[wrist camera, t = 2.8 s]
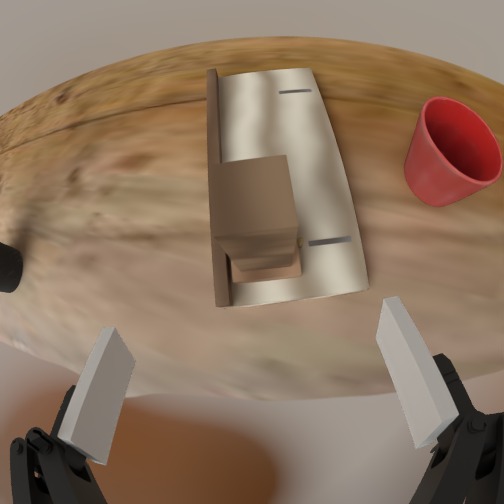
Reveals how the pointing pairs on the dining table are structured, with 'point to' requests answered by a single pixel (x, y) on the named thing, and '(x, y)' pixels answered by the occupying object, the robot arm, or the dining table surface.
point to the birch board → (302, 178)
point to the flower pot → (451, 153)
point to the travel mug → (9, 268)
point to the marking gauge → (256, 218)
